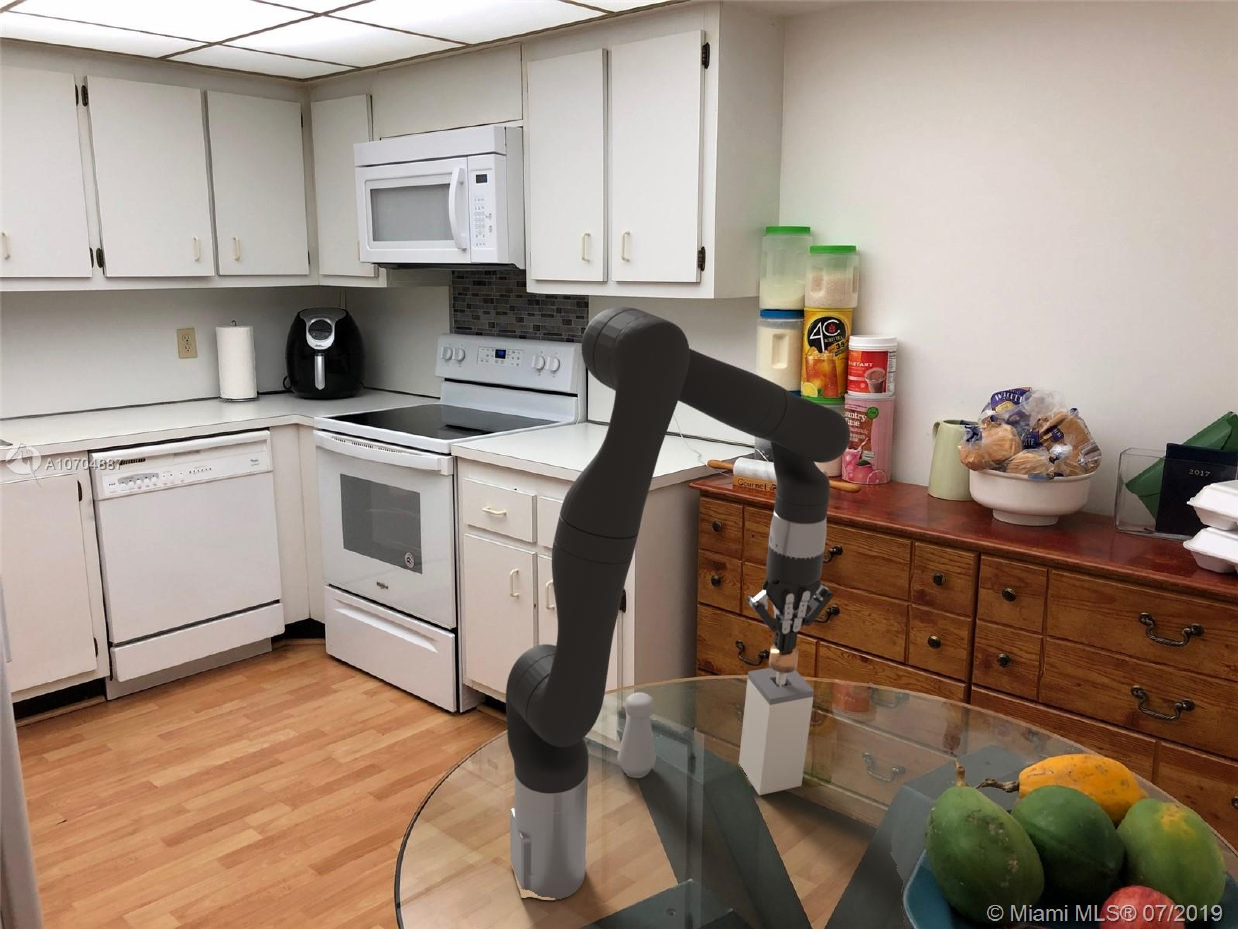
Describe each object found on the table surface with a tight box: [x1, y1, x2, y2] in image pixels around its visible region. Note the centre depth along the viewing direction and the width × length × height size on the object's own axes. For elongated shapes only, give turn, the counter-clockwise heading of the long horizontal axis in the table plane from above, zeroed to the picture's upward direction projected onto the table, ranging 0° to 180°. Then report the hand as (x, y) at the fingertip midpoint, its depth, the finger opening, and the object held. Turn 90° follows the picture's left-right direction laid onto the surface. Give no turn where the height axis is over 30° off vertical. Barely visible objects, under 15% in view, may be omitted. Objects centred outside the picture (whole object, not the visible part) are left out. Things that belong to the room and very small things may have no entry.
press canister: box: [738, 667, 815, 796], centre depth 144 cm, size 7×7×17 cm
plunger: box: [768, 644, 800, 687], centre depth 142 cm, size 4×4×17 cm
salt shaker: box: [617, 692, 657, 777], centre depth 145 cm, size 6×6×13 cm
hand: (784, 651), depth 139 cm, fingers closed
